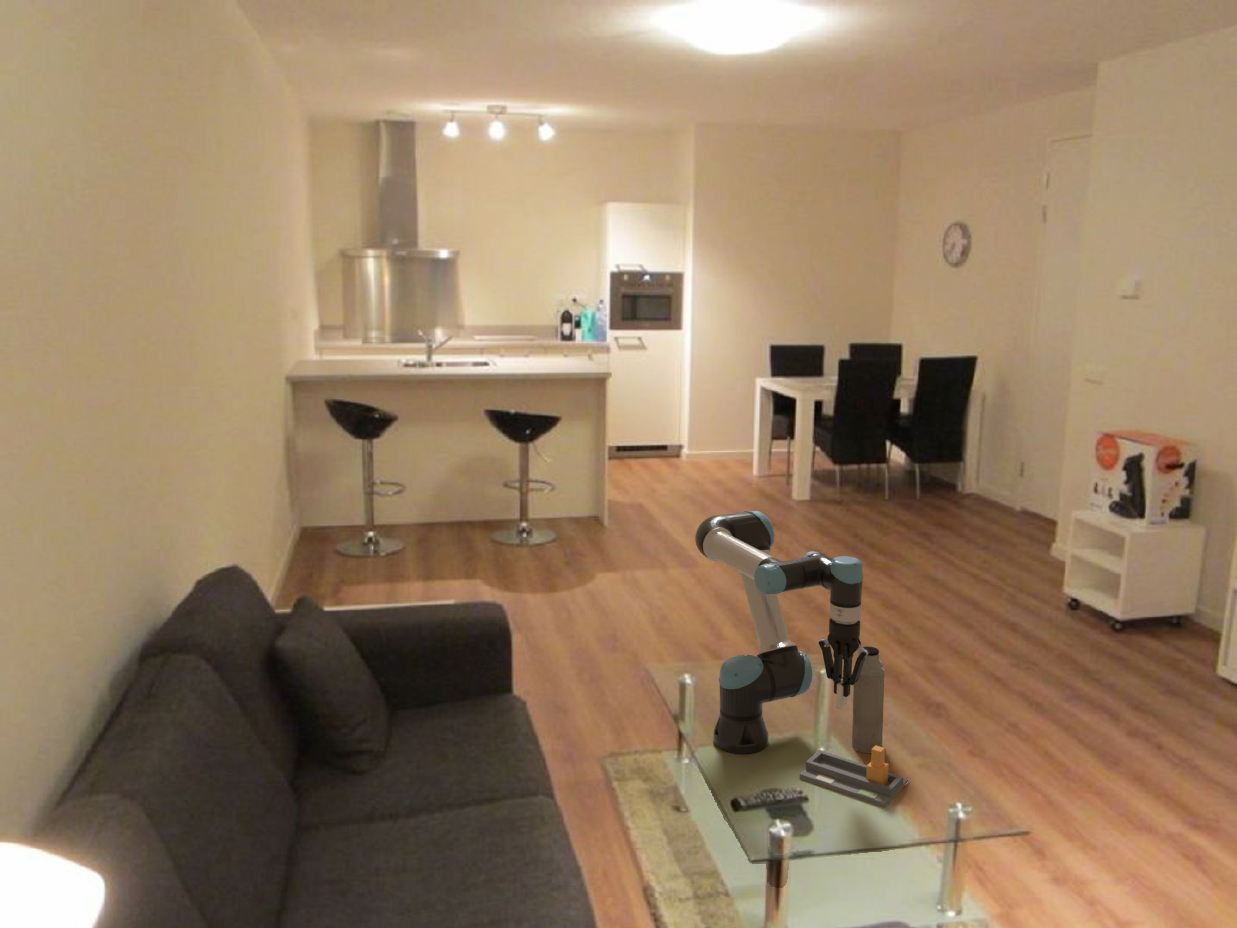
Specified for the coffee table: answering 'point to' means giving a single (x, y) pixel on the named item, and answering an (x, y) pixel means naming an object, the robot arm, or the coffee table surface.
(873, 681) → the thermos bottle
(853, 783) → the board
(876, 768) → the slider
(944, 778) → the coffee table surface
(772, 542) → the robot arm
